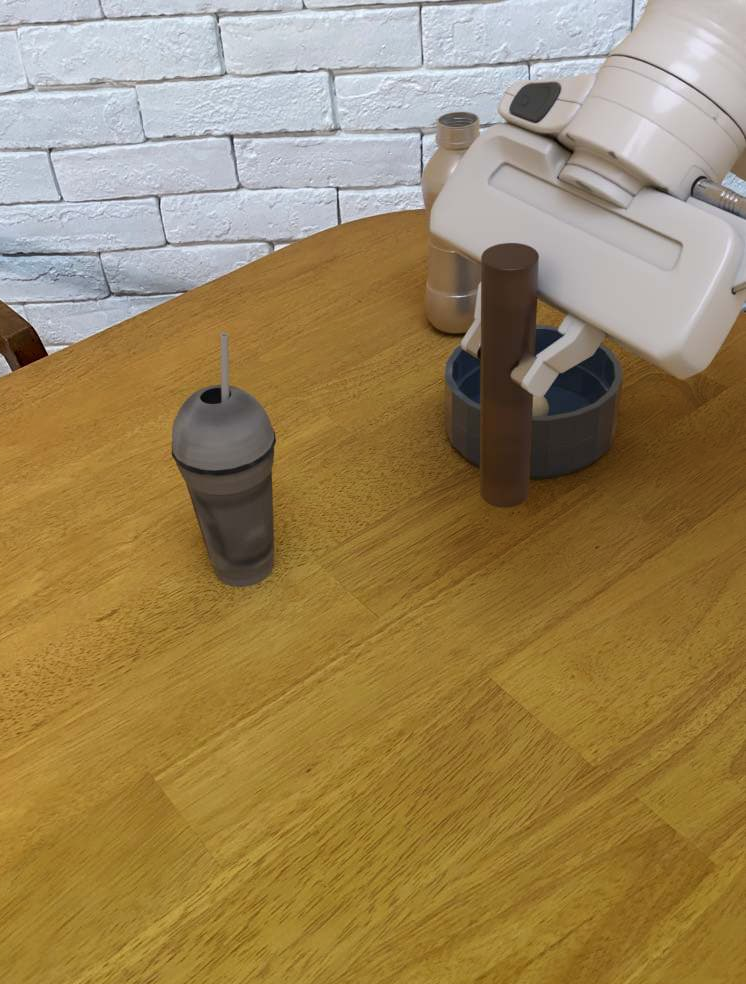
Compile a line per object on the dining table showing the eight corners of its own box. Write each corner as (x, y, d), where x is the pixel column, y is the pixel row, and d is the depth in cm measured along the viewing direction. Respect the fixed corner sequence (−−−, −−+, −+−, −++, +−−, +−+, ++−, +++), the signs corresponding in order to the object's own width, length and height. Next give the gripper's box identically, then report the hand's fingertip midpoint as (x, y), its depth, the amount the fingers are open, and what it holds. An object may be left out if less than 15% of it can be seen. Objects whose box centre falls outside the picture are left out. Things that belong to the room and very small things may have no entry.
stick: (520, 473, 71) (528, 238, 60) (535, 503, 69) (547, 263, 58) (474, 482, 71) (474, 247, 60) (488, 512, 68) (490, 273, 58)
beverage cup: (202, 535, 88) (158, 309, 75) (294, 532, 88) (266, 304, 75) (189, 600, 83) (140, 368, 70) (288, 598, 82) (257, 364, 69)
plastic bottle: (506, 325, 109) (513, 119, 96) (451, 350, 106) (450, 141, 93) (464, 300, 113) (465, 99, 100) (410, 323, 110) (403, 119, 97)
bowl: (579, 372, 102) (584, 313, 98) (642, 464, 91) (650, 402, 87) (427, 398, 100) (426, 340, 97) (472, 495, 90) (473, 433, 86)
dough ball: (541, 411, 97) (542, 381, 95) (552, 431, 95) (554, 401, 93) (507, 417, 96) (508, 387, 94) (518, 437, 94) (519, 407, 92)
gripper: (822, 245, 56) (658, 476, 59) (546, 130, 70) (423, 323, 72) (777, 186, 52) (602, 440, 54) (491, 75, 65) (362, 283, 68)
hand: (498, 372), depth 64 cm, fingers closed on stick, 3 cm apart
